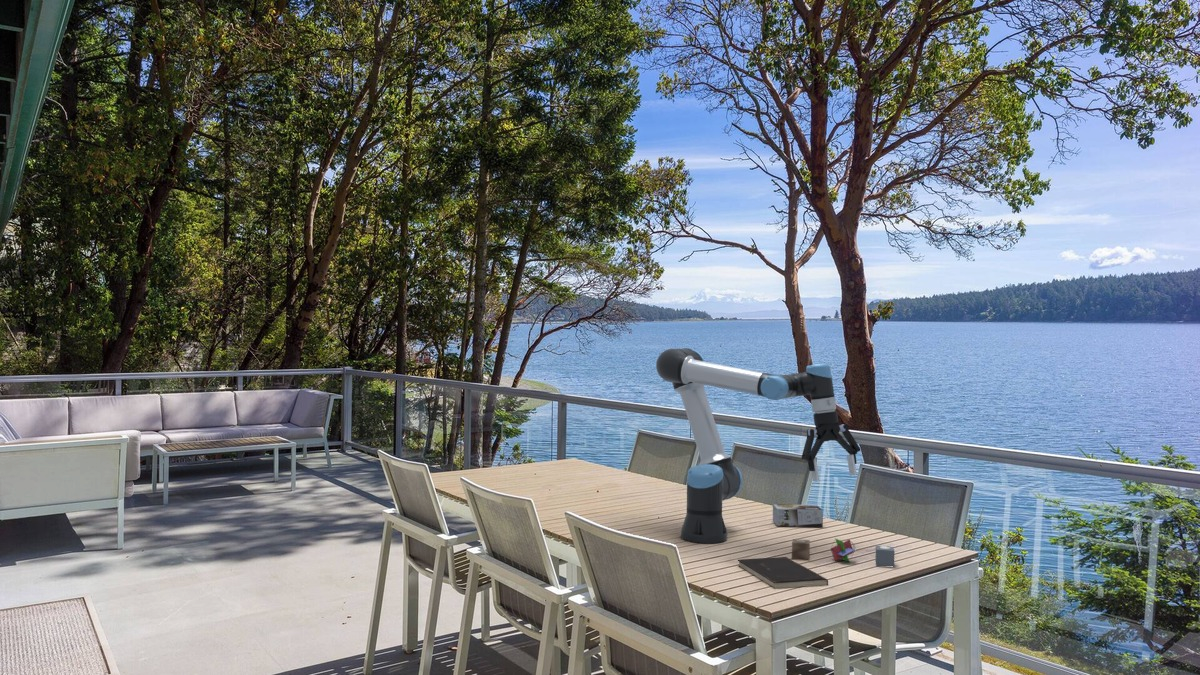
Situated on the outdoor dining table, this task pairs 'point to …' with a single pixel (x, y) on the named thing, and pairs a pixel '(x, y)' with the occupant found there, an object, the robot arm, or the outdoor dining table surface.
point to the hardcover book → (782, 572)
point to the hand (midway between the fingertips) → (834, 478)
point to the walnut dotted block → (800, 549)
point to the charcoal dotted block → (884, 556)
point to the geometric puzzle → (842, 550)
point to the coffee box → (797, 515)
